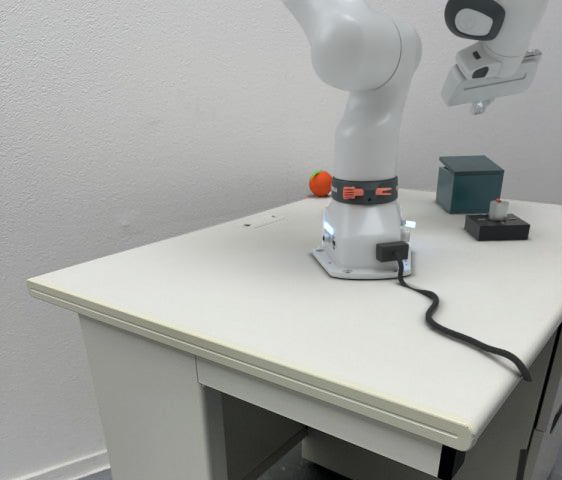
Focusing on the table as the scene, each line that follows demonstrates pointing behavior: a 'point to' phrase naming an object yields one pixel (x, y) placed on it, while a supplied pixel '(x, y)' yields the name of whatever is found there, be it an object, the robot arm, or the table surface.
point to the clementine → (320, 183)
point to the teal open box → (467, 191)
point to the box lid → (471, 165)
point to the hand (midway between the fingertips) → (476, 112)
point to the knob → (498, 210)
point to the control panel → (496, 228)
